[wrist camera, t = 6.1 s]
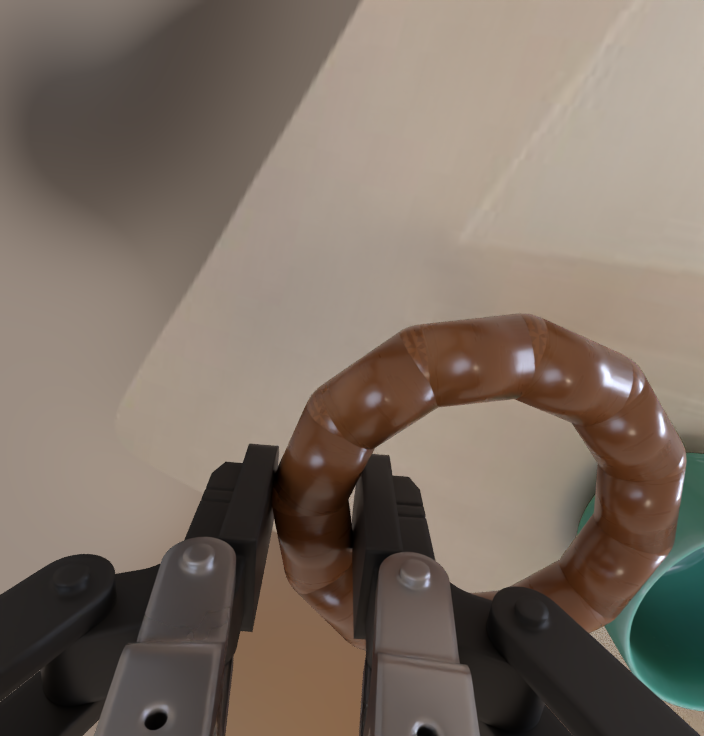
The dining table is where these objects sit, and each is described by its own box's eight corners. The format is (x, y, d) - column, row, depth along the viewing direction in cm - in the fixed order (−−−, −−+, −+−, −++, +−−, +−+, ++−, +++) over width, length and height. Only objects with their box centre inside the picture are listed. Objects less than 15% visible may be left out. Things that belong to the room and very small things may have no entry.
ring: (227, 568, 14) (213, 623, 13) (375, 238, 11) (382, 253, 10) (530, 663, 16) (552, 722, 15) (733, 399, 13) (792, 436, 11)
